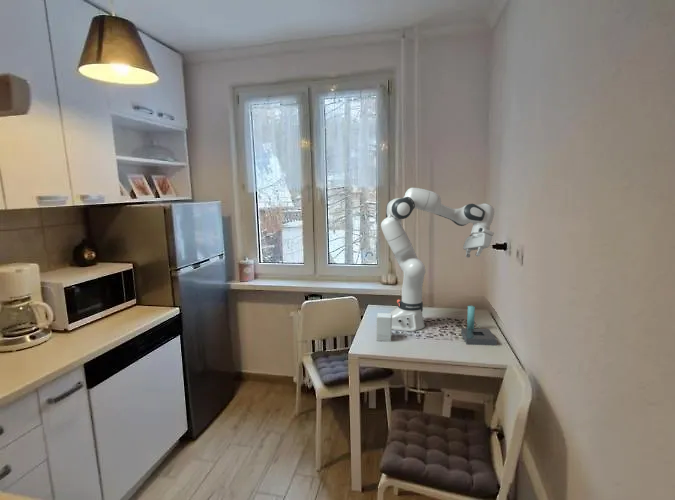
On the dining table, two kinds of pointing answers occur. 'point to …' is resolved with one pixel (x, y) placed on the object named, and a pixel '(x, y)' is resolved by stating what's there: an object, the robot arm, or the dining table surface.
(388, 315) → the supplement box
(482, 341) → the socket block
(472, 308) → the peg
